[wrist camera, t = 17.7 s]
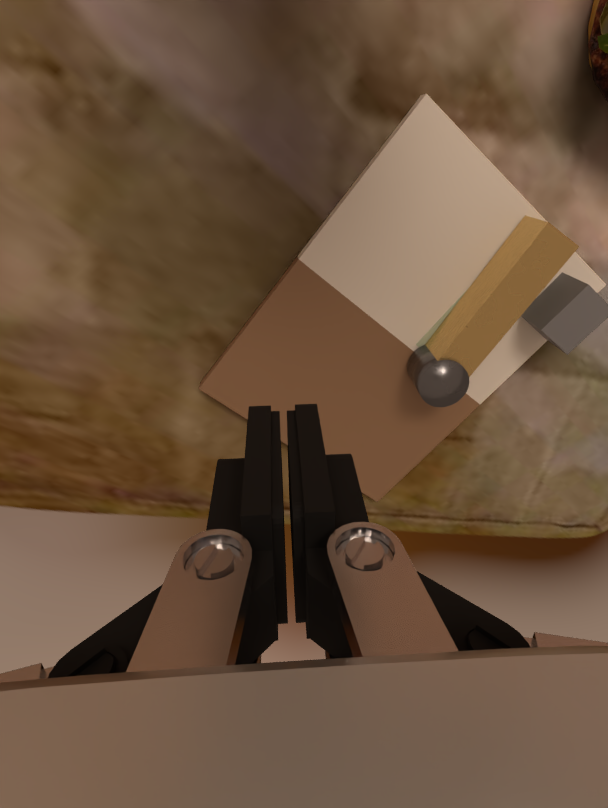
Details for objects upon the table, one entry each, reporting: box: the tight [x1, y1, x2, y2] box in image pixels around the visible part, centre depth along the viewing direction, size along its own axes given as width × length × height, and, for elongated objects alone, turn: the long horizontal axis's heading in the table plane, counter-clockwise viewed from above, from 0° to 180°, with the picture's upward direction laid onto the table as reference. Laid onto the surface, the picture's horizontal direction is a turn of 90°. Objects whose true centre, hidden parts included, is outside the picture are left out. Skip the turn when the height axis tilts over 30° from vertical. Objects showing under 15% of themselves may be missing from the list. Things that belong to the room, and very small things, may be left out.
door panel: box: [199, 94, 608, 502], centre depth 36 cm, size 25×19×5 cm
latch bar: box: [407, 215, 579, 407], centre depth 35 cm, size 14×4×4 cm, turn 148°
